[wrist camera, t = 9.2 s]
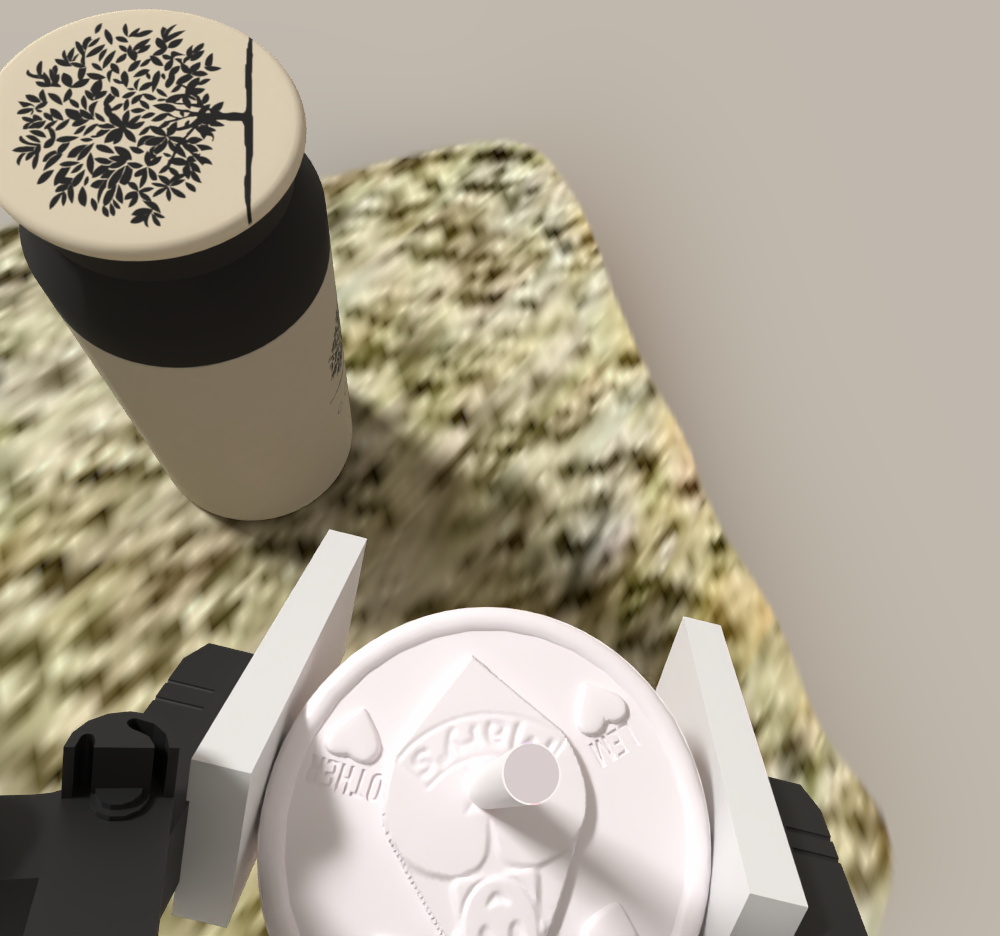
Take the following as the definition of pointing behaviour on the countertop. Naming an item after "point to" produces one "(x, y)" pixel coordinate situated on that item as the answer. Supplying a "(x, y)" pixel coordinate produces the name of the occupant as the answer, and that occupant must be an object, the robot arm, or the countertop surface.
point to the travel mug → (185, 247)
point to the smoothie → (484, 792)
